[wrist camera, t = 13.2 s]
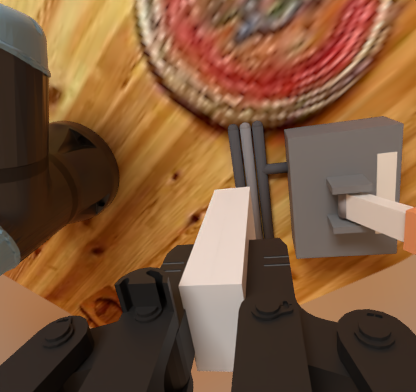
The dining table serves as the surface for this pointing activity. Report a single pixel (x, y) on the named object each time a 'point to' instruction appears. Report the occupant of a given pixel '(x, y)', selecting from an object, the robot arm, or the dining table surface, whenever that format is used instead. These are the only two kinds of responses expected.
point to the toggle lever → (381, 216)
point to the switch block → (341, 183)
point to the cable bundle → (262, 172)
